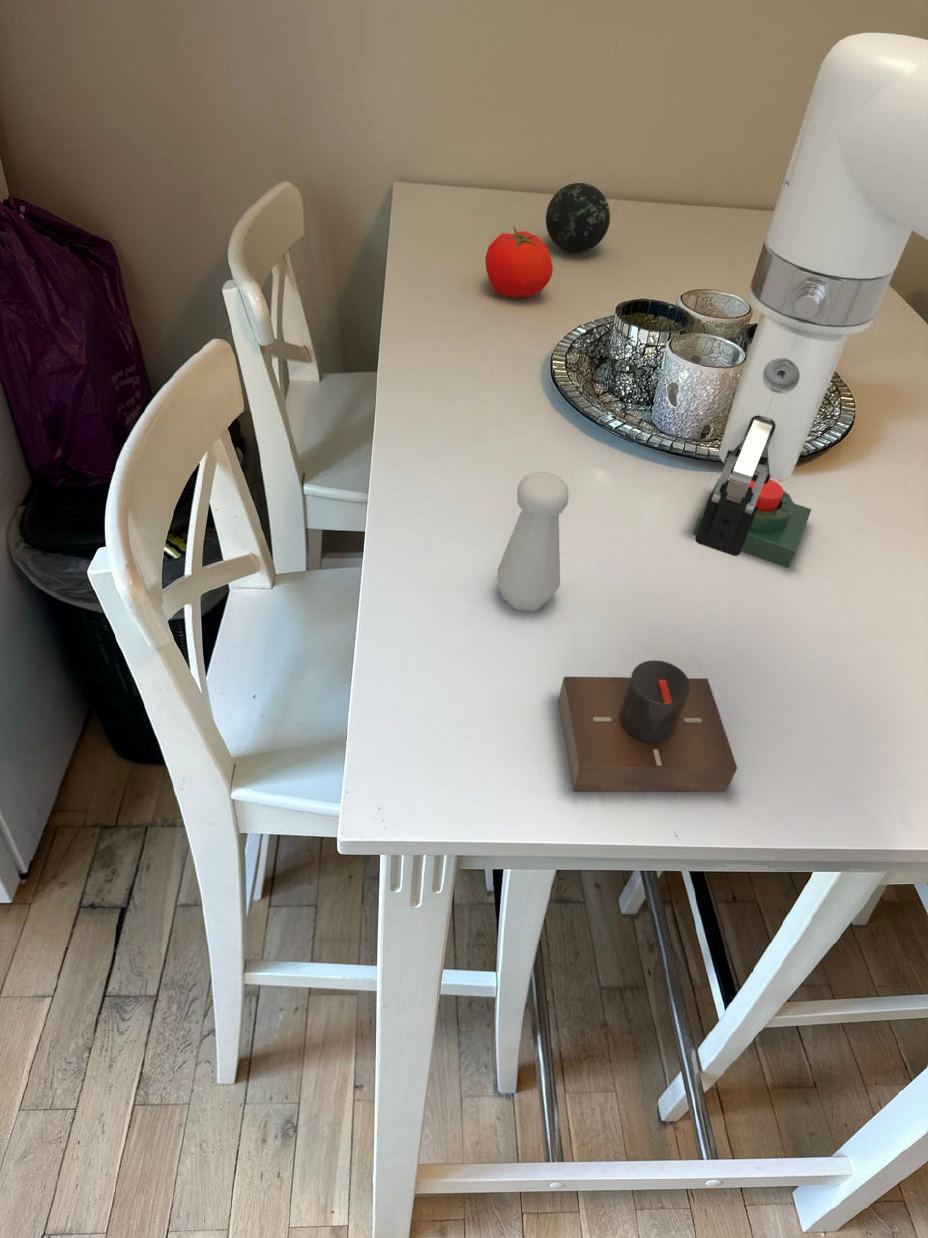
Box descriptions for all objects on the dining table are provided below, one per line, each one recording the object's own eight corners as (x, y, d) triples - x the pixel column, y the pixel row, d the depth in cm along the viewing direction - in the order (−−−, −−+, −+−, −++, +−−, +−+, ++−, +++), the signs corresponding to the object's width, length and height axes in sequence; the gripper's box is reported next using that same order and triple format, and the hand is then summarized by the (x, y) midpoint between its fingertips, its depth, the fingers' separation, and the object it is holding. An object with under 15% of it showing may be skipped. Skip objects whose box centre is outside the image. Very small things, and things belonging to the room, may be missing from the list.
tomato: (503, 272, 133) (509, 215, 127) (561, 293, 130) (570, 235, 124) (468, 291, 127) (473, 232, 122) (528, 314, 124) (537, 254, 118)
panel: (698, 701, 74) (708, 676, 72) (726, 791, 68) (738, 767, 66) (557, 700, 73) (563, 674, 71) (573, 791, 67) (580, 766, 65)
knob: (614, 698, 70) (627, 656, 66) (668, 698, 70) (684, 657, 67) (624, 742, 67) (638, 701, 63) (681, 743, 67) (698, 702, 64)
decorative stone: (603, 241, 145) (615, 177, 138) (603, 266, 138) (616, 199, 131) (542, 234, 145) (551, 170, 138) (540, 258, 138) (549, 191, 131)
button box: (804, 525, 93) (818, 494, 90) (788, 567, 88) (802, 536, 85) (713, 494, 96) (723, 463, 93) (692, 533, 91) (703, 502, 88)
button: (781, 498, 90) (787, 484, 89) (773, 517, 88) (779, 502, 87) (747, 487, 91) (752, 473, 90) (738, 505, 89) (743, 490, 88)
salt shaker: (557, 620, 80) (582, 506, 71) (494, 616, 80) (511, 500, 71) (553, 577, 84) (576, 464, 75) (494, 573, 84) (510, 459, 75)
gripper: (863, 360, 46) (758, 598, 58) (897, 250, 57) (803, 468, 69) (723, 321, 48) (650, 559, 60) (783, 222, 59) (711, 439, 71)
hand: (732, 510), depth 65 cm, fingers open, 9 cm apart
